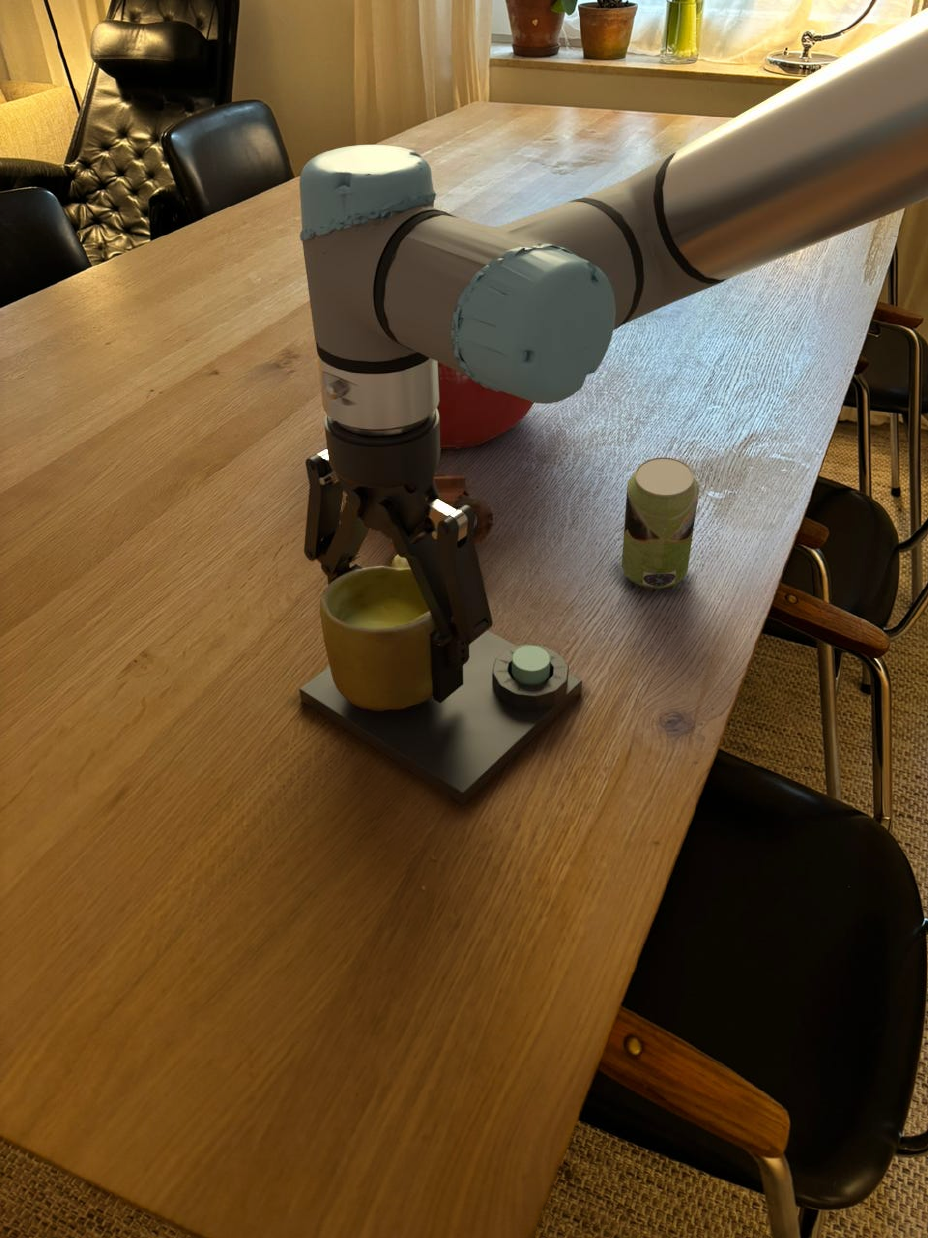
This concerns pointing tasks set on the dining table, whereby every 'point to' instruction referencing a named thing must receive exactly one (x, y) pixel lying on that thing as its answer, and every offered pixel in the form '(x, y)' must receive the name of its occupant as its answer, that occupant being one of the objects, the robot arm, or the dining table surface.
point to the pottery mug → (453, 496)
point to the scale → (458, 718)
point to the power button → (530, 665)
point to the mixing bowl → (474, 410)
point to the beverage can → (659, 522)
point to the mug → (378, 637)
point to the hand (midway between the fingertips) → (399, 663)
